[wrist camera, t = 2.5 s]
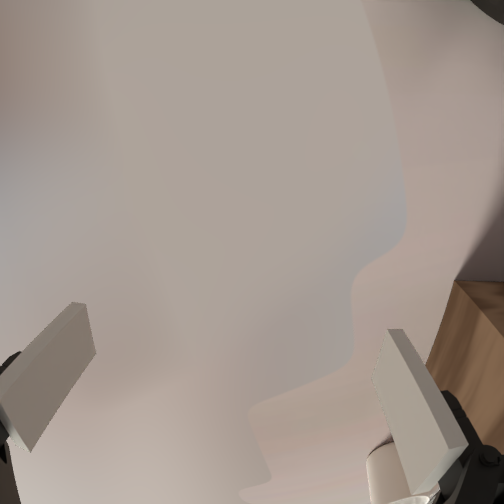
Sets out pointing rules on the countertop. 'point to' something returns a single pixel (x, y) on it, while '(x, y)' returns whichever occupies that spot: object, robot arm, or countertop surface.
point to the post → (473, 356)
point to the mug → (391, 479)
